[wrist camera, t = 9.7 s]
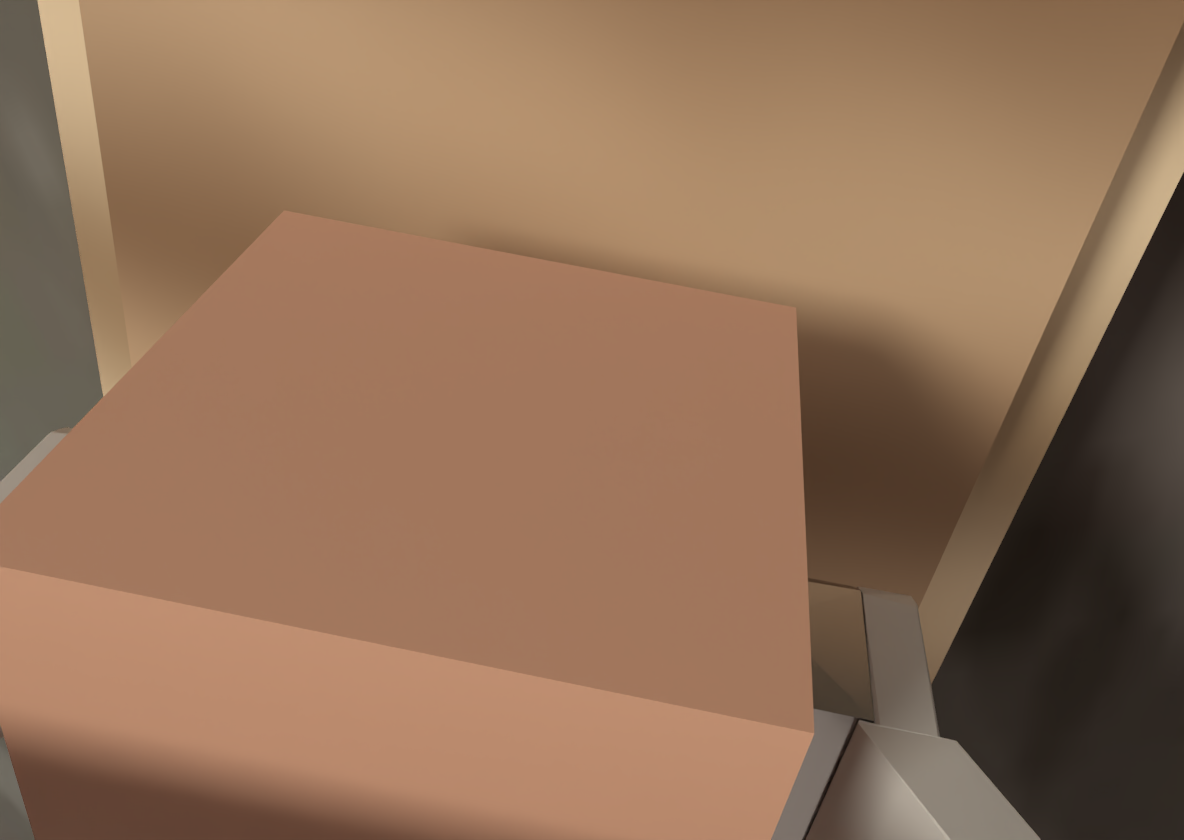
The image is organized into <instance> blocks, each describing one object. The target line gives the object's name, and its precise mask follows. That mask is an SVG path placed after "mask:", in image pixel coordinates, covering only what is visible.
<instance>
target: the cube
mask: <svg viewBox="0 0 1184 840" xmlns="http://www.w3.org/2000/svg"><path fill="white" fill-rule="evenodd" d="M0 725H1V728H2V732H3V735H4V738H5V742H6V745H7V748H8V752H9V755H10V758H11V761H12V765H13V768H14V771H15V775H16V778H17V781H18V785H19V788H20V791H21V795H22V798H23V801H24V804H25V808H26V811H27V814H28V818H29V821H30V824H31V828H32V831H33V834H34V838H35V840H771V838H772V836H773V833H774V831H775V828H776V826H777V824H778V821H779V819H780V816H781V814H782V811H783V809H784V807H785V804H786V802H787V799H788V797H789V794H790V792H791V789H792V787H793V785H794V782H795V780H796V777H797V775H798V772H799V770H800V768H801V765H802V763H803V760H804V758H805V755H806V753H807V750H808V748H809V746H810V743H811V741H812V738H813V736H814V712H813V689H812V666H811V642H810V619H809V596H808V572H807V549H806V526H805V503H804V479H803V456H802V433H801V409H800V386H799V363H798V339H797V316H796V308H795V307H790V306H785V305H780V304H774V303H769V302H764V301H759V300H753V299H748V298H743V297H738V296H732V295H727V294H722V293H716V292H711V291H706V290H701V289H695V288H690V287H685V286H680V285H674V284H669V283H664V282H659V281H653V280H648V279H643V278H637V277H632V276H627V275H622V274H616V273H611V272H606V271H601V270H595V269H590V268H585V267H580V266H574V265H569V264H564V263H559V262H553V261H548V260H543V259H537V258H532V257H527V256H522V255H516V254H511V253H506V252H501V251H495V250H490V249H485V248H480V247H474V246H469V245H464V244H459V243H453V242H448V241H443V240H437V239H432V238H427V237H422V236H416V235H411V234H406V233H401V232H395V231H390V230H385V229H380V228H374V227H369V226H364V225H359V224H353V223H348V222H343V221H337V220H332V219H327V218H322V217H316V216H311V215H306V214H301V213H295V212H290V211H285V210H284V211H283V212H282V213H281V214H280V215H279V216H278V217H277V218H276V219H275V220H274V221H273V222H272V223H271V224H270V225H269V226H268V227H267V229H266V230H265V231H264V232H263V233H262V234H261V235H260V236H259V237H258V238H257V239H256V240H255V241H254V242H253V243H252V244H251V245H250V246H249V247H248V248H247V249H246V250H245V251H244V252H243V253H242V254H241V255H240V256H239V257H238V258H237V259H236V261H235V262H234V263H233V264H232V265H231V266H230V267H229V268H228V269H227V270H226V271H225V272H224V273H223V274H222V275H221V276H220V277H219V278H218V279H217V280H216V281H215V282H214V283H213V284H212V285H211V286H210V287H209V288H208V289H207V290H206V292H205V293H204V294H203V295H202V296H201V297H200V298H199V299H198V300H197V301H196V302H195V303H194V304H193V305H192V306H191V307H190V308H189V309H188V310H187V311H186V312H185V313H184V314H183V315H182V316H181V317H180V318H179V319H178V320H177V321H176V323H175V324H174V325H173V326H172V327H171V328H170V329H169V330H168V331H167V332H166V333H165V334H164V335H163V336H162V337H161V338H160V339H159V340H158V341H157V342H156V343H155V344H154V345H153V346H152V347H151V348H150V349H149V350H148V351H147V352H146V353H145V355H144V356H143V357H142V358H141V359H140V360H139V361H138V362H137V363H136V364H135V365H134V366H133V367H132V368H131V369H130V370H129V371H128V372H127V373H126V374H125V375H124V376H123V377H122V378H121V379H120V380H119V381H118V382H117V383H116V384H115V386H114V387H113V388H112V389H111V390H110V391H109V392H108V393H107V394H106V395H105V396H104V397H103V398H102V399H101V400H100V401H99V402H98V403H97V404H96V405H95V406H94V407H93V408H92V409H91V410H90V411H89V412H88V413H87V414H86V415H85V416H84V418H83V419H82V420H81V421H80V422H79V423H78V424H77V425H76V426H75V427H74V428H73V429H72V430H71V431H70V432H69V433H68V434H67V435H66V436H65V437H64V438H63V439H62V440H61V441H60V442H59V443H58V444H57V445H56V446H55V447H54V449H53V450H52V451H51V452H50V453H49V454H48V455H47V456H46V457H45V458H44V459H43V460H42V461H41V462H40V463H39V464H38V465H37V466H36V467H35V468H34V469H33V470H32V471H31V472H30V473H29V474H28V475H27V476H26V477H25V478H24V480H23V481H22V482H21V483H20V484H19V485H18V486H17V487H16V488H15V489H14V490H13V491H12V492H11V493H10V494H9V495H8V496H7V497H6V498H5V499H4V500H3V501H2V502H1V503H0Z"/></svg>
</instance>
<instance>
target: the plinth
mask: <svg viewBox="0 0 1184 840" xmlns="http://www.w3.org/2000/svg"><path fill="white" fill-rule="evenodd" d="M38 6H39V12H40V18H41V24H42V30H43V36H44V42H45V49H46V55H47V61H48V67H49V73H50V79H51V85H52V91H53V97H54V103H55V109H56V115H57V121H58V127H59V133H60V139H61V145H62V151H63V157H64V163H65V169H66V175H67V181H68V187H69V193H70V199H71V205H72V211H73V217H74V223H75V229H76V235H77V241H78V247H79V253H80V259H81V265H82V271H83V277H84V283H85V289H86V295H87V301H88V307H89V313H90V319H91V325H92V331H93V337H94V343H95V349H96V355H97V361H98V367H99V373H100V379H101V385H102V391H103V397H104V396H105V395H106V394H107V393H108V392H109V391H110V390H111V389H112V388H113V387H114V386H115V384H116V383H117V382H118V381H119V380H120V379H121V378H122V377H123V376H124V375H125V374H126V373H127V372H128V371H129V370H130V369H131V368H132V367H133V366H134V365H135V364H136V363H137V362H138V361H139V360H140V359H141V358H142V357H143V356H144V355H145V353H146V352H147V351H148V350H149V349H150V348H151V347H152V346H153V345H154V344H155V343H156V342H157V341H158V340H159V339H160V338H161V337H162V336H163V335H164V334H165V333H166V332H167V331H168V330H169V329H170V328H171V327H172V326H173V325H174V324H175V323H176V321H177V320H178V319H179V318H180V317H181V316H182V315H183V314H184V313H185V312H186V311H187V310H188V309H189V308H190V307H191V306H192V305H193V304H194V303H195V302H196V301H197V300H198V299H199V298H200V297H201V296H202V295H203V294H204V293H205V292H206V290H207V289H208V288H209V287H210V286H211V285H212V284H213V283H214V282H215V281H216V280H217V279H218V278H219V277H220V276H221V275H222V274H223V273H224V272H225V271H226V270H227V269H228V268H229V267H230V266H231V265H232V264H233V263H234V262H235V261H236V259H237V258H238V257H239V256H240V255H241V254H242V253H243V252H244V251H245V250H246V249H247V248H248V247H249V246H250V245H251V244H252V243H253V242H254V241H255V240H256V239H257V238H258V237H259V236H260V235H261V234H262V233H263V232H264V231H265V230H266V229H267V227H268V226H269V225H270V224H271V223H272V222H273V221H274V220H275V219H276V218H277V217H278V216H279V215H280V214H281V213H282V212H283V211H284V210H285V211H290V212H295V213H301V214H306V215H311V216H316V217H322V218H327V219H332V220H337V221H343V222H348V223H353V224H359V225H364V226H369V227H374V228H380V229H385V230H390V231H395V232H401V233H406V234H411V235H416V236H422V237H427V238H432V239H437V240H443V241H448V242H453V243H459V244H464V245H469V246H474V247H480V248H485V249H490V250H495V251H501V252H506V253H511V254H516V255H522V256H527V257H532V258H537V259H543V260H548V261H553V262H559V263H564V264H569V265H574V266H580V267H585V268H590V269H595V270H601V271H606V272H611V273H616V274H622V275H627V276H632V277H637V278H643V279H648V280H653V281H659V282H664V283H669V284H674V285H680V286H685V287H690V288H695V289H701V290H706V291H711V292H716V293H722V294H727V295H732V296H738V297H743V298H748V299H753V300H759V301H764V302H769V303H774V304H780V305H785V306H790V307H795V308H796V316H797V339H798V363H799V386H800V409H801V433H802V456H803V479H804V503H805V526H806V549H807V572H808V578H813V579H818V580H823V581H828V582H833V583H838V584H844V585H849V586H853V587H855V588H857V587H858V586H859V587H865V588H870V589H876V590H881V591H887V592H892V593H898V594H903V595H909V596H911V597H912V598H913V599H914V601H915V602H916V603H917V606H918V612H919V618H920V623H921V629H922V635H923V641H924V647H925V652H926V658H927V664H928V670H929V676H930V681H931V684H932V682H933V680H934V678H935V676H936V674H937V672H938V670H939V668H940V666H941V664H942V662H943V660H944V658H945V656H946V654H947V652H948V650H949V648H950V646H951V643H952V641H953V639H954V637H955V635H956V633H957V631H958V629H959V627H960V625H961V623H962V621H963V619H964V617H965V615H966V613H967V611H968V609H969V607H970V605H971V603H972V601H973V599H974V597H975V595H976V593H977V591H978V589H979V587H980V585H981V583H982V581H983V578H984V576H985V574H986V572H987V570H988V568H989V566H990V564H991V562H992V560H993V558H994V556H995V554H996V552H997V550H998V548H999V546H1000V544H1001V542H1002V540H1003V538H1004V536H1005V534H1006V532H1007V530H1008V528H1009V526H1010V524H1011V522H1012V520H1013V518H1014V516H1015V513H1016V511H1017V509H1018V507H1019V505H1020V503H1021V501H1022V499H1023V497H1024V495H1025V493H1026V491H1027V489H1028V487H1029V485H1030V483H1031V481H1032V479H1033V477H1034V475H1035V473H1036V471H1037V469H1038V467H1039V465H1040V463H1041V461H1042V459H1043V457H1044V455H1045V453H1046V450H1047V448H1048V446H1049V444H1050V442H1051V440H1052V438H1053V436H1054V434H1055V432H1056V430H1057V428H1058V426H1059V424H1060V422H1061V420H1062V418H1063V416H1064V414H1065V412H1066V410H1067V408H1068V406H1069V404H1070V402H1071V400H1072V398H1073V396H1074V394H1075V392H1076V390H1077V388H1078V385H1079V383H1080V381H1081V379H1082V377H1083V375H1084V373H1085V371H1086V369H1087V367H1088V365H1089V363H1090V361H1091V359H1092V357H1093V355H1094V353H1095V351H1096V349H1097V347H1098V345H1099V343H1100V341H1101V339H1102V337H1103V335H1104V333H1105V331H1106V329H1107V327H1108V325H1109V323H1110V320H1111V318H1112V316H1113V314H1114V312H1115V310H1116V308H1117V306H1118V304H1119V302H1120V300H1121V298H1122V296H1123V294H1124V292H1125V290H1126V288H1127V286H1128V284H1129V282H1130V280H1131V278H1132V276H1133V274H1134V272H1135V270H1136V268H1137V266H1138V264H1139V262H1140V260H1141V257H1142V255H1143V253H1144V251H1145V249H1146V247H1147V245H1148V243H1149V241H1150V239H1151V237H1152V235H1153V233H1154V231H1155V229H1156V227H1157V225H1158V223H1159V221H1160V219H1161V217H1162V215H1163V213H1164V211H1165V209H1166V207H1167V205H1168V203H1169V201H1170V199H1171V197H1172V195H1173V192H1174V190H1175V188H1176V186H1177V184H1178V182H1179V180H1180V178H1181V176H1182V174H1183V172H1184V0H38Z"/></svg>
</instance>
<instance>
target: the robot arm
mask: <svg viewBox="0 0 1184 840" xmlns="http://www.w3.org/2000/svg"><path fill="white" fill-rule="evenodd" d="M72 429H73V428H68V427H65V428H62V429H59V430H55V431H52V432H50V433H49V434H48V435H47V436H46V437H45V438H44V439H43V440H42V441H41V442H40V443H39V444H38V445H37V446H36V447H35V448H34V449H33V450H32V451H31V452H30V453H29V454H28V455H27V456H26V457H25V458H24V459H23V460H22V461H21V462H20V463H19V464H18V465H17V466H16V467H15V468H14V469H13V470H12V471H11V472H10V473H9V474H8V475H7V476H6V477H5V478H4V479H3V480H2V481H1V482H0V503H1V502H2V501H3V500H4V499H5V498H6V497H7V496H8V495H9V494H10V493H11V492H12V491H13V490H14V489H15V488H16V487H17V486H18V485H19V484H20V483H21V482H22V481H23V480H24V478H25V477H26V476H27V475H28V474H29V473H30V472H31V471H32V470H33V469H34V468H35V467H36V466H37V465H38V464H39V463H40V462H41V461H42V460H43V459H44V458H45V457H46V456H47V455H48V454H49V453H50V452H51V451H52V450H53V449H54V447H55V446H56V445H57V444H58V443H59V442H60V441H61V440H62V439H63V438H64V437H65V436H66V435H67V434H68V433H69V432H70V431H71V430H72ZM808 596H809V619H810V642H811V666H812V689H813V712H814V736H813V738H812V741H811V743H810V746H809V748H808V750H807V753H806V755H805V758H804V760H803V763H802V765H801V768H800V770H799V772H798V775H797V777H796V780H795V782H794V785H793V787H792V789H791V792H790V794H789V797H788V799H787V802H786V804H785V807H784V809H783V811H782V814H781V816H780V819H779V821H778V824H777V826H776V828H775V831H774V833H773V836H772V838H771V840H1041V839H1040V838H1039V837H1038V835H1037V834H1036V833H1035V832H1034V831H1033V829H1032V828H1031V827H1030V826H1029V825H1028V824H1027V822H1026V821H1025V820H1024V819H1023V818H1022V817H1021V815H1020V814H1019V813H1018V812H1017V811H1016V810H1015V808H1014V807H1013V806H1012V805H1011V804H1010V803H1009V801H1008V800H1007V799H1006V798H1005V797H1004V796H1003V794H1002V793H1001V792H1000V791H999V790H998V789H997V787H996V786H995V785H994V784H993V783H992V782H991V780H990V779H989V778H988V777H987V776H986V775H985V773H984V772H983V771H982V770H981V769H980V768H979V766H978V765H977V764H976V763H975V762H974V761H973V759H972V758H971V757H970V756H969V755H968V753H967V752H966V751H965V750H964V749H963V748H962V746H961V745H960V744H959V743H958V742H957V741H955V740H950V739H946V738H941V737H940V734H939V728H938V722H937V716H936V710H935V705H934V699H933V693H932V687H931V681H930V676H929V670H928V664H927V658H926V652H925V647H924V641H923V635H922V629H921V623H920V618H919V612H918V606H917V603H916V602H915V601H914V599H913V598H912V597H911V596H909V595H903V594H898V593H892V592H887V591H881V590H876V589H870V588H865V587H859V586H858V587H857V588H855V587H853V586H849V585H844V584H838V583H833V582H828V581H823V580H818V579H813V578H808ZM2 737H4V735H3V732H2V728H1V725H0V738H2Z"/></svg>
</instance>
